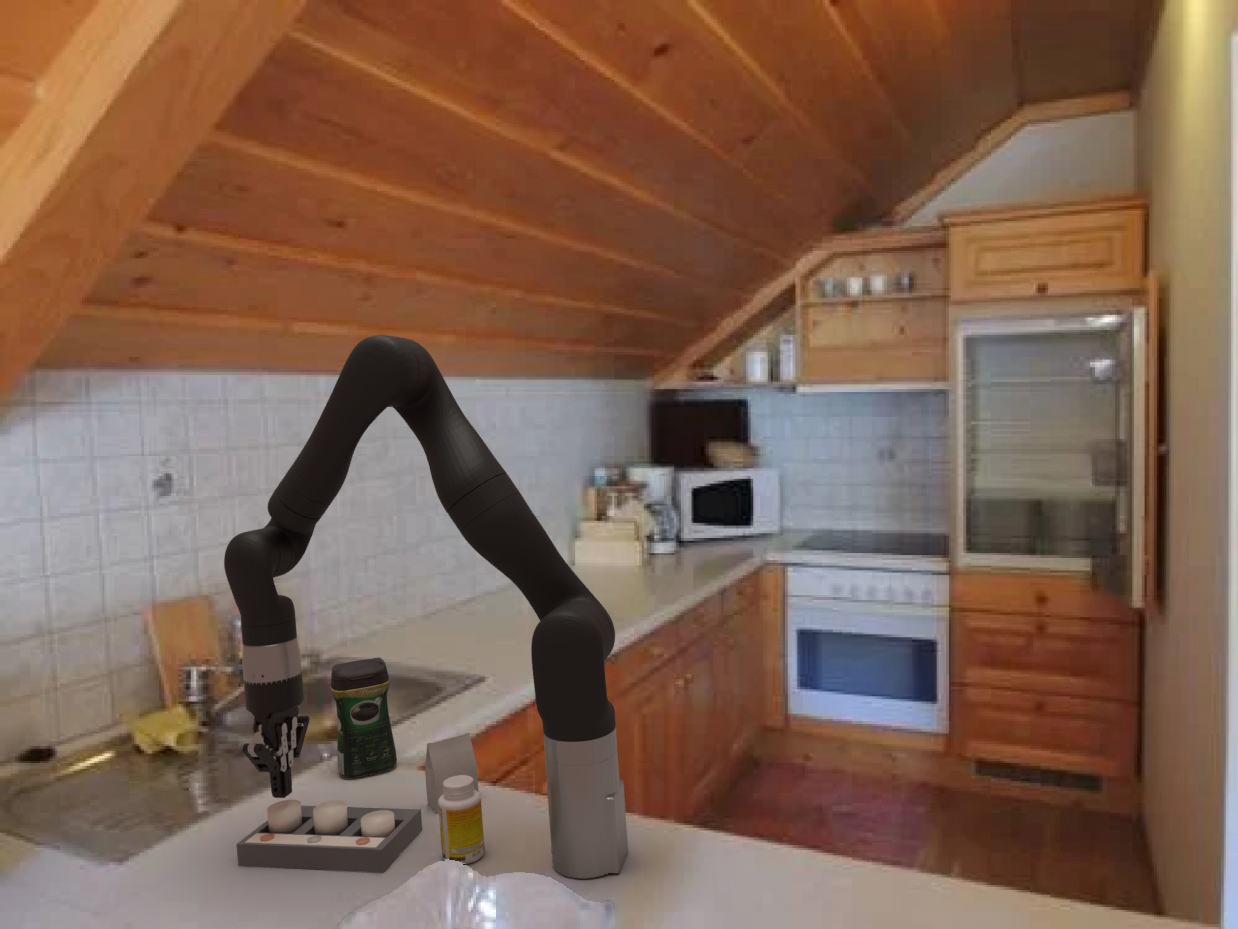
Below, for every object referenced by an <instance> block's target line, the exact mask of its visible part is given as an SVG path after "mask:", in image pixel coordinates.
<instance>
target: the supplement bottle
mask: <svg viewBox="0 0 1238 929" xmlns="http://www.w3.org/2000/svg"><path fill="white" fill-rule="evenodd" d="M478 791H479V790H478ZM478 791H476V790H474V783H473V778H472V777H470V776H467V775H458V776H453V777H450V778H448V779H446V780H445V781H444V782H443V795H442V796H441V797H440V798H439V800H438V809H439V814H438V822H439V831H440V832H439V834H440V845H441V846H440V847H441V856H442V859H443V860H444V859H449V860H455V861H459V862H462V863H466V864H465V865H469V864H472V863H474V862H477V861H478V860H479V859H481V858H482V857H483V855H484V853H485V838H484V837H485V836H484V824H483V811H482V797H481V796H482V795H481V794H480V791H479V792H478Z"/></svg>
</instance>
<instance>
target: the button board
mask: <svg viewBox="0 0 1238 929" xmlns="http://www.w3.org/2000/svg"><path fill="white" fill-rule="evenodd" d="M316 806H317V805H301V812H302V826H301V827H300V828H298V829H297V830H296V831H294V832H291V833H287V834H283V833H270V832H269V826H268V819H267V820H266V821H265V822H264V823H262V824H261V825H259V826H258V827H257V828H256V829H254V830H253V831H252V832H250V833H249V834H248V835H246V836H245V837H244V838H242V839H241V840H240V841H239V842H237V843H236V856H237V866H238V867H252V868H254V867H255V868H273V869H274V868H275V869H276V868H277V869H296V870H297V869H298V870H299V869H300V870H315V871H316V870H319V871H340V872H341V871H343V872H359V873H362V872H363V873H384V872H385V871H387V869H388V868H389V867H391V865H392V864H393V863H394V862H395V861H396V860H397V858H399V856H400V855H401V854H402V853H403V852H404V851H405V850H406V849H407V848H408V846H409V845H410V844H411V843H412V842H413V841H414V840H415V839H416V838H417V837H418V836H419V834H420V833H421V832H422V831H423V822H422V821H423V818H422V809H420V808H392V807H391V808H387V807H385V808H384V807H359V806H358V807H356V806H354V807H353V806H352V807H350V806H347V816H348V828H347V829H346V830H345V831H343V832H342V833H339V834H336V835H316V834H315V829H314V817H313V809H314V808H315V807H316ZM378 810H389V811H392V812H393V813H394V819H395V830H394V831H393V832H392V833H391V834H390V835H389V836H388V837H364V836H362V831H361V818H362V817H363V816H364V815H366V814H368V813H370V812H373V811H378Z"/></svg>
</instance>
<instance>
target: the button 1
mask: <svg viewBox="0 0 1238 929" xmlns="http://www.w3.org/2000/svg"><path fill="white" fill-rule="evenodd" d="M301 806H302V803H301V801H300V800H298V799H284V800H280V801H277V802H274V803H272V804H270V805H268V806H267V808H266V812H267V813H266V815H267V820H268V826H269V832H270V833H283V834H287V833H291V832H294V831H296V830H297V829H298V828H300V827H301V826H302V812H301Z"/></svg>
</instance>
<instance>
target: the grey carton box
mask: <svg viewBox="0 0 1238 929" xmlns="http://www.w3.org/2000/svg"><path fill="white" fill-rule="evenodd" d="M425 755H426V756H425V763H424V772H425V773H424V774H425V789H426V803H427V806H429V807H428V808H430V809H431V810H432V811H433V810H434V811H435V812H434V811H433V812H434V813H435V814H438V813H439V809H438V800H439V798H440V797H441V796H442V795H443V782H444V781H445V780H446V779H448V778H450V777H453V776H458V775H467V776H470V777H472V778H473V783H474V790H476V791H478V792H479V793H480V791H479V780H478V778H479V777H478V767H477V766H478V765H477V758H476V756H475V752H474V747H473V744H472V738H471V733H470V732H466V733H465V732H464V733H462V734H457V735H455V736H451V737H447V738H444V739H439V740H435V741H432V742H429V743H428V742H427V743H426V754H425ZM438 815H439V814H438Z"/></svg>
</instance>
